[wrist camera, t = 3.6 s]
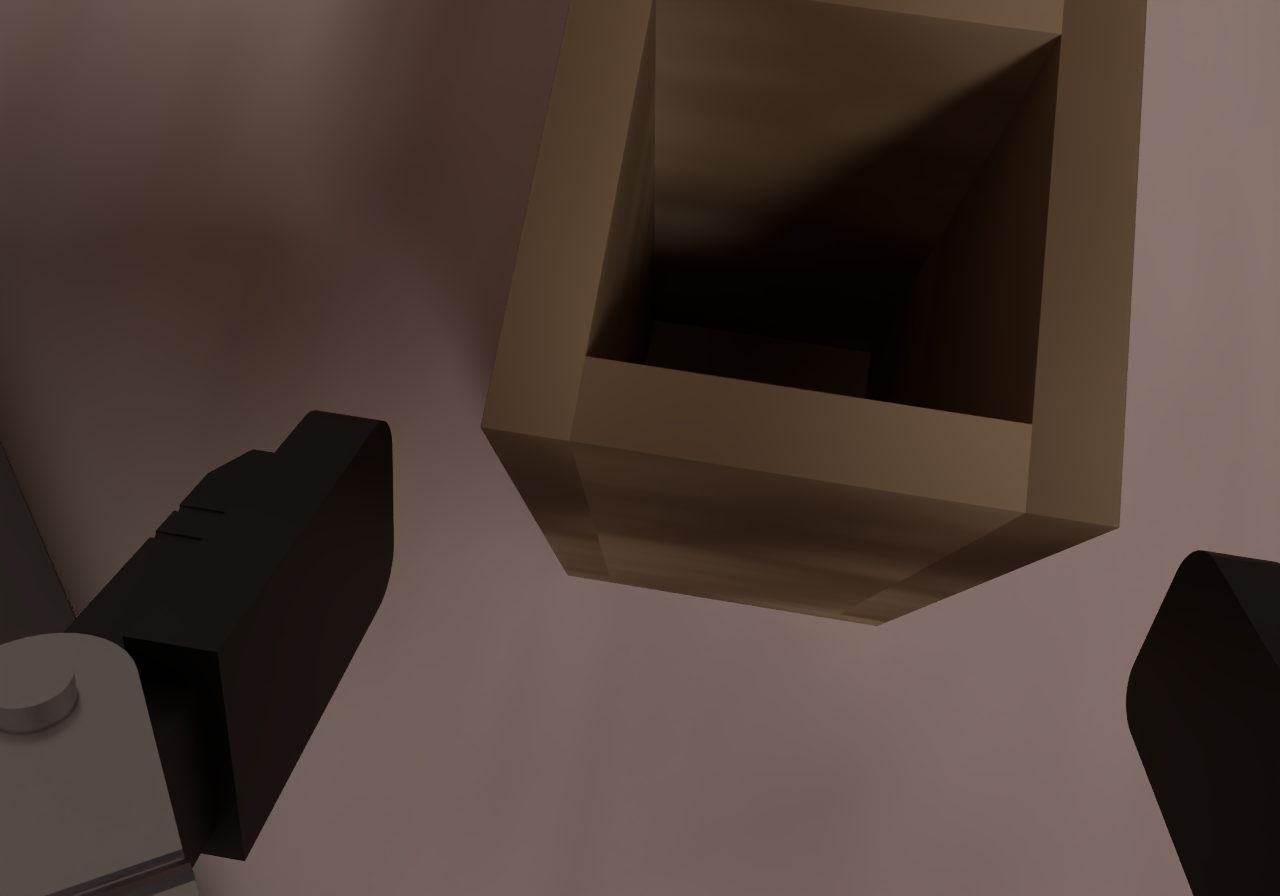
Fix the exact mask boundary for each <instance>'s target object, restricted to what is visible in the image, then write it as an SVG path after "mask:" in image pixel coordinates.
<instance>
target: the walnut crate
mask: <svg viewBox="0 0 1280 896" xmlns="http://www.w3.org/2000/svg"><path fill="white" fill-rule="evenodd" d="M1146 11H1147V0H570V4H569V9H568V13H567V18H566V23H565V28H564V33H563V37H562V42H561V47H560V52H559V56H558V61H557V66H556V71H555V75H554V80H553V85H552V90H551V94H550V99H549V104H548V109H547V113H546V118H545V123H544V128H543V132H542V137H541V142H540V147H539V151H538V156H537V161H536V166H535V170H534V175H533V180H532V185H531V189H530V194H529V199H528V204H527V208H526V213H525V218H524V223H523V227H522V232H521V237H520V242H519V246H518V251H517V256H516V261H515V265H514V270H513V275H512V280H511V284H510V289H509V294H508V299H507V304H506V308H505V313H504V318H503V323H502V327H501V332H500V337H499V342H498V346H497V351H496V356H495V361H494V365H493V370H492V375H491V380H490V384H489V389H488V394H487V399H486V403H485V408H484V413H483V418H482V422H481V429H482V430H483V432H484V434H485V435H486V437H487V439H488V440H489V442H490V444H491V446H492V447H493V449H494V451H495V452H496V454H497V456H498V457H499V459H500V461H501V463H502V464H503V466H504V468H505V469H506V471H507V473H508V474H509V476H510V478H511V480H512V481H513V483H514V485H515V486H516V488H517V490H518V491H519V493H520V495H521V496H522V498H523V500H524V502H525V503H526V505H527V507H528V508H529V510H530V512H531V513H532V515H533V517H534V519H535V520H536V522H537V524H538V525H539V527H540V529H541V530H542V532H543V534H544V536H545V537H546V539H547V541H548V542H549V544H550V546H551V547H552V549H553V551H554V552H555V554H556V556H557V558H558V559H559V561H560V563H561V564H562V566H563V568H564V569H565V571H566V573H567V575H569V576H575V577H581V578H587V579H593V580H599V581H606V582H612V583H618V584H624V585H630V586H636V587H642V588H648V589H654V590H660V591H667V592H673V593H679V594H685V595H691V596H697V597H703V598H709V599H715V600H721V601H727V602H734V603H740V604H746V605H752V606H758V607H764V608H770V609H776V610H782V611H788V612H795V613H801V614H807V615H813V616H819V617H825V618H831V619H837V620H843V621H849V622H855V623H862V624H868V625H874V626H878V625H881V624H883V623H886V622H888V621H890V620H893V619H895V618H898V617H900V616H903V615H905V614H908V613H910V612H913V611H915V610H918V609H920V608H922V607H925V606H927V605H930V604H932V603H935V602H937V601H940V600H942V599H945V598H947V597H950V596H952V595H954V594H957V593H959V592H962V591H964V590H967V589H969V588H972V587H974V586H977V585H979V584H982V583H984V582H986V581H989V580H991V579H994V578H996V577H999V576H1001V575H1004V574H1006V573H1009V572H1011V571H1014V570H1016V569H1018V568H1021V567H1023V566H1026V565H1028V564H1031V563H1033V562H1036V561H1038V560H1041V559H1043V558H1046V557H1048V556H1050V555H1053V554H1055V553H1058V552H1060V551H1063V550H1065V549H1068V548H1070V547H1073V546H1075V545H1078V544H1080V543H1082V542H1085V541H1087V540H1090V539H1092V538H1095V537H1097V536H1100V535H1102V534H1105V533H1107V532H1110V531H1112V530H1114V529H1117V528H1119V523H1120V504H1121V485H1122V466H1123V447H1124V428H1125V409H1126V390H1127V371H1128V352H1129V333H1130V314H1131V296H1132V277H1133V258H1134V239H1135V220H1136V201H1137V182H1138V163H1139V144H1140V125H1141V106H1142V87H1143V68H1144V49H1145V30H1146Z"/></svg>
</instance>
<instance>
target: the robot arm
mask: <svg viewBox="0 0 1280 896" xmlns="http://www.w3.org/2000/svg"><path fill="white" fill-rule="evenodd" d="M393 550H394V524H393V459H392V436H391V431H390V427H389V425H388V424H387V422H385V421H381V420H375V419H368V418H362V417H356V416H349V415H343V414H336V413H330V412H324V411H317V410H314V411H311V412H309V413H308V414H307V415H306V416H305V417H304V418H303V419H302V421H301V422H300V423H299V424H298V425H297V427H296V428H295V429H294V430H293V431H292V433H291V434H290V435H289V436H288V437H287V439H286V440H285V441H284V442H283V443H282V445H281V446H280V447H279V448H278V449H277V451H276V452H275V453H272V452H266V451H259V450H251V451H249V452H247V453H245V454H243V455H241V456H240V457H238V458H236V459H234V460H232V461H230V462H228V463H226V464H225V465H223V466H221V467H219V468H217V469H215V470H213V471H211V472H210V473H208V474H207V475H206V476H205V477H204V478H203V479H202V481H201V482H200V483H199V484H198V485H197V486H196V487H195V488H194V489H193V490H192V492H191V493H190V494H189V495H188V496H187V497H186V498H185V499H184V500H183V501H182V503H181V504H180V508H179V511H173V512H172V514H171V515H170V516H169V517H168V518H167V519H166V520H165V521H164V522H163V523H162V525H161V526H160V527H159V528H158V529H157V530H156V535H155V538H149V539H148V540H147V541H146V542H145V543H144V544H143V545H142V547H141V548H140V549H139V550H138V551H137V552H136V553H135V554H134V555H133V556H132V558H131V559H130V560H129V561H128V562H127V563H126V564H125V565H124V566H123V567H122V569H121V570H120V571H119V572H118V573H117V574H116V575H115V576H114V577H113V578H112V580H111V581H110V582H109V583H108V584H107V585H106V586H105V587H104V588H103V589H102V590H101V592H100V593H99V594H98V595H97V596H96V597H95V598H94V599H93V600H92V601H91V603H90V604H89V605H88V606H87V607H86V608H85V609H84V610H83V611H82V612H81V614H80V615H79V616H78V617H77V618H76V619H75V620H74V621H73V622H72V623H71V625H70V626H69V627H68V628H67V629H66V630H65V631H64V632H63V633H52V634H42V635H36V636H31V637H26V638H22V639H18V640H15V641H11V642H8V643H5V644H2V645H0V896H199V892H198V888H197V885H196V881H195V877H194V874H193V870H192V868H193V866H194V864H195V862H196V861H197V859H198V857H199V856H200V854H201V853H202V854H208V855H213V856H219V857H224V858H230V859H236V860H241V861H245V860H246V858H247V856H248V854H249V852H250V850H251V849H252V847H253V845H254V843H255V841H256V839H257V837H258V835H259V833H260V832H261V830H262V828H263V826H264V824H265V822H266V820H267V818H268V816H269V815H270V813H271V811H272V809H273V807H274V805H275V803H276V801H277V799H278V798H279V796H280V794H281V792H282V790H283V788H284V786H285V784H286V782H287V781H288V779H289V777H290V775H291V773H292V771H293V769H294V767H295V765H296V763H297V762H298V760H299V758H300V756H301V754H302V752H303V750H304V748H305V746H306V745H307V743H308V741H309V739H310V737H311V735H312V733H313V731H314V729H315V728H316V726H317V724H318V722H319V720H320V718H321V716H322V714H323V712H324V711H325V709H326V707H327V705H328V703H329V701H330V699H331V697H332V695H333V694H334V692H335V690H336V688H337V686H338V684H339V682H340V680H341V678H342V677H343V675H344V673H345V671H346V669H347V667H348V665H349V663H350V661H351V659H352V658H353V656H354V654H355V652H356V650H357V648H358V646H359V644H360V642H361V641H362V639H363V637H364V635H365V633H366V631H367V629H368V627H369V625H370V624H371V622H372V620H373V618H374V616H375V614H376V612H377V610H378V608H379V606H380V604H381V602H382V600H383V597H384V595H385V592H386V589H387V585H388V581H389V577H390V573H391V567H392V561H393ZM1126 713H1127V720H1128V725H1129V729H1130V732H1131V735H1132V738H1133V740H1134V743H1135V745H1136V748H1137V750H1138V753H1139V756H1140V758H1141V761H1142V763H1143V766H1144V769H1145V771H1146V774H1147V776H1148V779H1149V782H1150V784H1151V787H1152V789H1153V792H1154V795H1155V797H1156V800H1157V802H1158V805H1159V807H1160V810H1161V813H1162V815H1163V818H1164V820H1165V823H1166V826H1167V828H1168V831H1169V833H1170V836H1171V839H1172V841H1173V844H1174V846H1175V849H1176V852H1177V854H1178V857H1179V859H1180V862H1181V864H1182V867H1183V870H1184V872H1185V875H1186V877H1187V880H1188V883H1189V885H1190V888H1191V890H1192V893H1193V896H1280V563H1278V562H1273V561H1266V560H1260V559H1253V558H1247V557H1241V556H1234V555H1228V554H1221V553H1215V552H1209V551H1200V550H1198V551H1195V552H1192V553H1191V554H1189V555H1188V556H1187V557H1186V558H1185V559H1184V560H1183V562H1182V563H1181V565H1180V567H1179V568H1178V570H1177V572H1176V574H1175V577H1174V579H1173V581H1172V583H1171V585H1170V587H1169V589H1168V592H1167V594H1166V596H1165V598H1164V600H1163V602H1162V604H1161V607H1160V609H1159V611H1158V613H1157V615H1156V617H1155V619H1154V622H1153V624H1152V626H1151V628H1150V630H1149V632H1148V634H1147V637H1146V639H1145V641H1144V643H1143V645H1142V647H1141V649H1140V652H1139V654H1138V656H1137V658H1136V660H1135V662H1134V665H1133V667H1132V670H1131V673H1130V676H1129V681H1128V686H1127V694H1126Z"/></svg>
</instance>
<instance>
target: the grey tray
mask: <svg viewBox="0 0 1280 896" xmlns="http://www.w3.org/2000/svg"><path fill="white" fill-rule="evenodd" d="M74 620H75V617H74V615H73V612H72V610H71V607H70V605H69V603H68V600H67V598H66V596H65V593H64V591H63V589H62V586H61V584H60V582H59V579H58V577H57V575H56V572H55V570H54V568H53V565H52V563H51V561H50V558H49V556H48V554H47V551H46V549H45V547H44V544H43V542H42V540H41V537H40V535H39V533H38V530H37V528H36V526H35V523H34V521H33V519H32V516H31V514H30V512H29V509H28V507H27V505H26V502H25V500H24V498H23V495H22V493H21V491H20V488H19V486H18V484H17V481H16V479H15V477H14V474H13V472H12V470H11V467H10V465H9V463H8V460H7V458H6V455H5V453H4V451H3V448H2V446H1V444H0V645H2V644H5V643H8V642H11V641H15V640H18V639H22V638H26V637H31V636H36V635H42V634H52V633H63V632H64V631H65V630H66V629H67V628H68V627H69V626H70V625H71V623H72V622H73V621H74Z"/></svg>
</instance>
